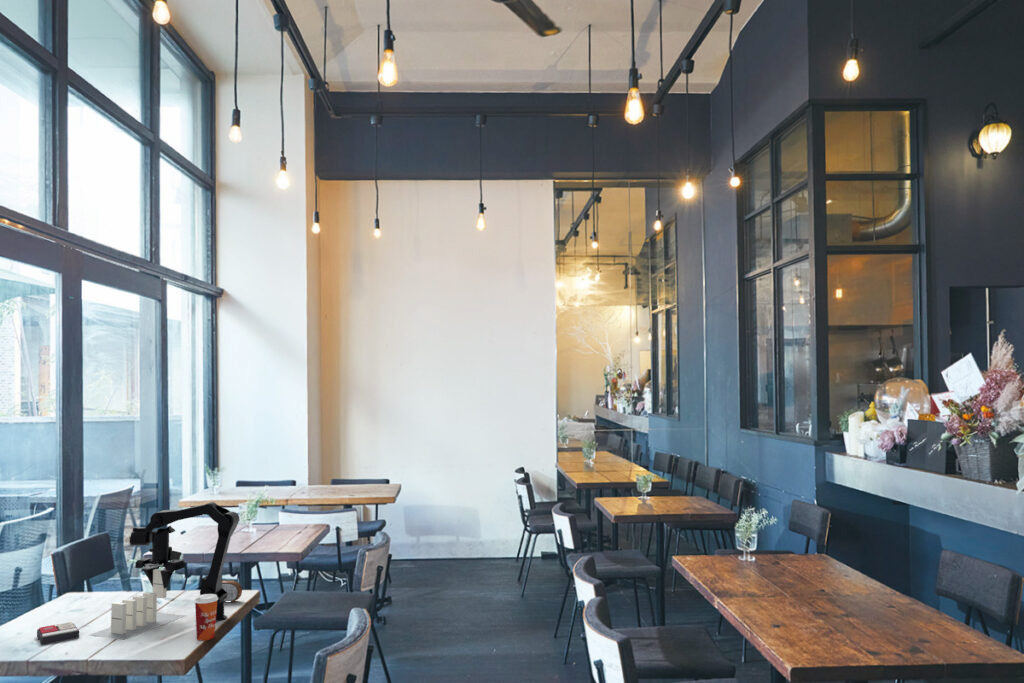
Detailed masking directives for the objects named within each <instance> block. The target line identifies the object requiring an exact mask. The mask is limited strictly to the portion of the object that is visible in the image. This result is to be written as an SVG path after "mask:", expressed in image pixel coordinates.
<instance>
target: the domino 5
mask: <svg viewBox="0 0 1024 683" xmlns="http://www.w3.org/2000/svg"><path fill="white" fill-rule="evenodd" d="M162 570H163V569H161V568H159V569H155V570H153V587H152V593H157V599H166V598H167V594H168V593H167V592H168V590H167V588H168V587H167V588H164V587H163V582H162V576H161V571H162Z"/></svg>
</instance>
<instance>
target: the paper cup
mask: <svg viewBox="0 0 1024 683" xmlns="http://www.w3.org/2000/svg"><path fill="white" fill-rule="evenodd" d="M217 600H218V598H217V595H216V594H204V595H200V594H199V595H198V596H196V597H195V599H194V601H193V602H194V604H195V605H194V606H195V607H194V608H195V627H196V628H195V629H196V630H195V631H196V640H198V641H201V642H203V641H210V640H213V639H215V635H216V634H215V633H216V623H217V621H216V612H217Z"/></svg>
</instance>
